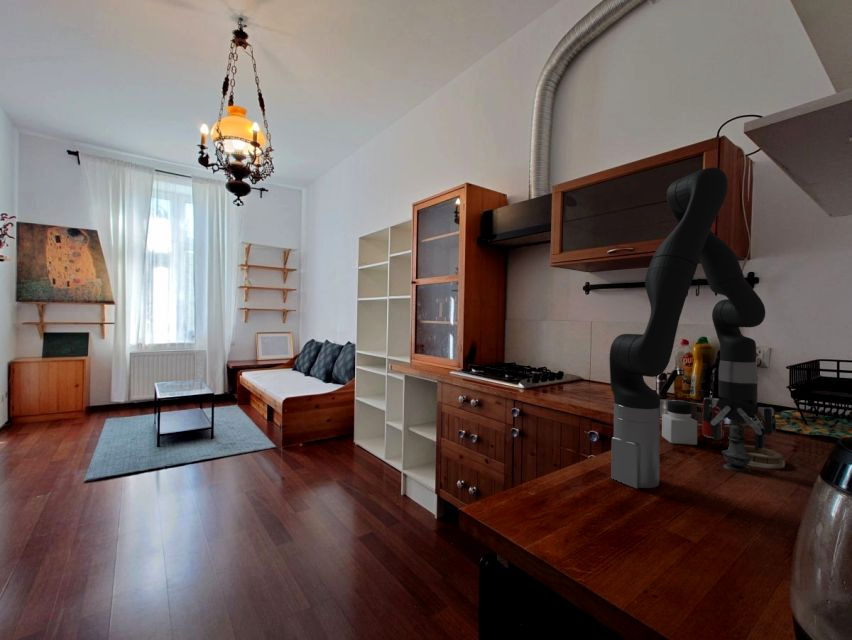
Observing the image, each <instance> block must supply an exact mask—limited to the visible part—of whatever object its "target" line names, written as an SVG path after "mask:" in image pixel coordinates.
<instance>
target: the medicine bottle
mask: <svg viewBox="0 0 852 640" xmlns="http://www.w3.org/2000/svg"><path fill="white" fill-rule="evenodd" d="M661 436H662V438H663V439H665V440H666V441H667V442H669V443H671V444H679V445H693V446H696V445H698V420H696V419H694V418H692V404H691V403H690V402H688V401H685V400H678V399H677V400H675V399H672V400H669V401H667V413H662V414H661Z"/></svg>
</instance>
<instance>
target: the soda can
mask: <svg viewBox="0 0 852 640" xmlns="http://www.w3.org/2000/svg"><path fill="white" fill-rule="evenodd" d="M707 398H708V397H704V398H703V402H702V411H703V410H704V400H705V399H707ZM712 398H713V399H714V400H718V399H719V398H716V397H715V398H714V397H712ZM720 412H721V410H720V408H719V407H718V406H717V404H716V406H715V407H713V418H715V417H716V416H717V415H718V414H719V413H720ZM720 425H721V439H723V438H725V419H724V420H723V421H722V422H721V423H720ZM701 426H702V430H701V432H702V435H703V436H704V437H705V436H706V437H705V438H709V439H713V440H714V437H712V425H711V424H710V423H709V422H707V421H704V420H703V419H702V425H701Z"/></svg>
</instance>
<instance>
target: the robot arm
mask: <svg viewBox="0 0 852 640" xmlns="http://www.w3.org/2000/svg"><path fill="white" fill-rule="evenodd" d="M728 186H729V185H728V178H727V175H726V173H725V172H724V170H722V169H721V168H719V167H714V166H713V167H705V168H702V169H700V170H699V169H698V170H697V171H695V172H692V173H691V174H688V175H685V176H683V177H680V178H678V179H676V180H675V181H673V182H672V183H671V184H670V185H669V186H668V188H667V189H666V190H667V191H666V202H667V205H668V208H669V210H670V211H671V213H672V215H673V217H674V218H675V221H676V223H678V224H677V225H676V226H675V228H674V229H673V230H672V231H671V232H670V233H669V234H668V235H667V236H666V238H665V239H664V240H663V241H662V242H661V243H660V245H659V246H658V247H657V249H656V250H655V252H654V254H653V256H652V257H651V260H650V263H649V267H648V268H647V271H646V273H645V279H644V286H645V291H646V294H647V297H648V300H649V306H650V315H649V318H648V319H649V320H648V323H647V326H646V328H645V331H644V333H622V334H619V335H618V336H616V337H615V338H614V339H613V341H612V344H611V345H610V350H609V377H610V378H609V379H610V390H611V392H612V395H613V437H612V438H611V452H610V453H611V455H610V456H611V458H610V466H611V467H610V478H612V479H611V480H613V479H614V480H613V481H616V480H617V481H616V482H619V483H621V482H622V484H625V485H626V486H629V487H632V488H634V489H640V488H641V489H653V488H657V487H658V486H660V442H661V441H660V433H661V429H660V428H661V427H660V426H661V425H660V424H661V423H660V422H661V421H660V420H661V397H660V395H659V393H658V392H657V391H655V390H654V389H652V387H650V386H649V385H648V384H647V382H646V381H645V379H644V377H647V378H649V377H650V378H655V377H656V378H657V377H658V376H660V375H661V374H663V373H664V372H665V370H666V369H667V367H668V366H669V364H670V360H671V357H672V353H673V349H674V345H675V340H676V336H677V331H678V326H679V323H680V318H681V314H682V312H683V308H684V305H685V302H686V299H687V296H688V293H689V290H690V288H691V286H692V283H693V280H694V277H695V274H696V271H697V267H698V266H699V262H700V264H701V267H702V270H703V272H704V275H705V278H706V281H707V283H708V286H709V289H710V290H711V292H713V293H714V294H718V295H722V296H725V297H726V299H722V300H719V301H718V302H717V303H715V305H714V306H713V309H712V313H711V319H712V323H713V326H714V330H715V333H716V336H717V340H718V342H719V365H718V398H717V399H718V400H714V399H713V398H714V397H706V398H707V399H705V400H704V399H703V401H704V410H703V409H702V420H704V421H707V422H709V423H710V424H711V425H712V437H714V439H713V440H714V441H720V440H721V425H720V423H721V422H722V421H723V420H724V421H725V420H726V419H728V420H731V421H733V420H735V421H738V422H742V423H745V422H746V424H747V425H748V426H749V427H751V428H752V430H753V431H754V432H755V433H756V434H754V446H755V450H762V448H765V447H766V436H767V435H773V434H775V433H776V432H777V424H776V412H775V411H776V410H775V408H774V407H772V406H770V407H765V406H764V407H763V406H760V405H759V404H758V381H759V375H758V368H757V367H758V366H757V344H756V340H754V339H753V338H750V337H747V336H746V335H745V336H744V335H743V334H742V332H741V330H740V328H755V327H758V326H760V325H761V324H762V323H763V322H764V320H765V318H766V307H765V305H764V302H763V300H762V298H760V296H759V295H758V294H757V292H756V291H755V290H754V288H753V287H752V286H751V284H749V282H748V281H747V279H746V278H745V275H744V273H743V269H742V268H741V264H740V261H739V259H738V257H737V255H736V253H735V252H734V250H733V249H732V248H731V246H729V245H728V244H727V243H726V242H724V240H722V239H721V238H720V237H719V236H717V235H716V233H714V232H713V231H712V227H713V224H714V223H715V220H716V218H717V216H718V215H719V212H720V211H721V209H722V206H723V204H724V201H725V199H726V197H727V193H728ZM716 404H717V406H718V407H719V408H720V410H721V412H720V413H719V414H718V415H717V416H716V417H715V418H713V407H715V406H716ZM758 413H761V416H762V417H763V418H764V426H763V424H762V423H761V421H760V419H759V418H758V416H757V414H758Z"/></svg>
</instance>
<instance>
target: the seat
mask: <svg viewBox="0 0 852 640" xmlns="http://www.w3.org/2000/svg"><path fill="white" fill-rule="evenodd" d="M745 451H746V453H747V454H749V455H751V456H752V458H751V459H750V462H749V464H748V465H747V466H751V467H756V468H762V469H769V470H770V469H771V470H772V469H773V470H777V469H778V470H779V469H784V468H785V466H786V462H785V460H784V455H782V453H780V452H778V451H775V450H773V449H770V448H765V447H764V448H762V450H755V445H747V444H745Z"/></svg>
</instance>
